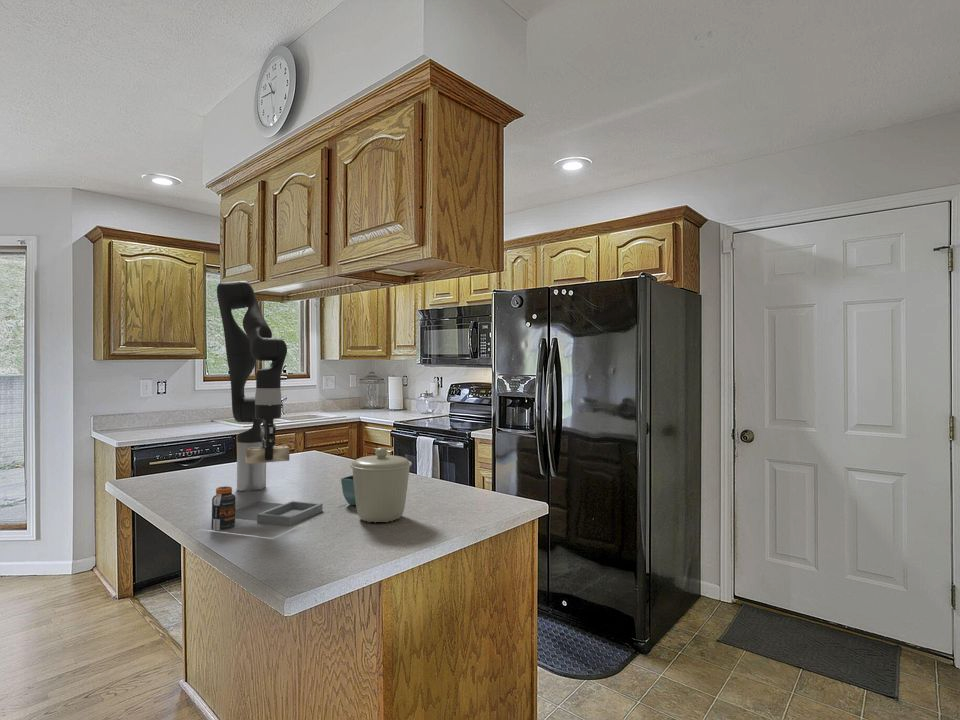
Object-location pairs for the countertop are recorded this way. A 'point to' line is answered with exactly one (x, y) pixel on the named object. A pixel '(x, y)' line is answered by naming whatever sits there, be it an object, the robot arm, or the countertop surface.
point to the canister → (380, 486)
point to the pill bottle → (223, 509)
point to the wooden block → (259, 454)
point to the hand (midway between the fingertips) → (267, 458)
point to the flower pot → (348, 489)
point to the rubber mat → (254, 510)
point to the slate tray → (289, 513)
